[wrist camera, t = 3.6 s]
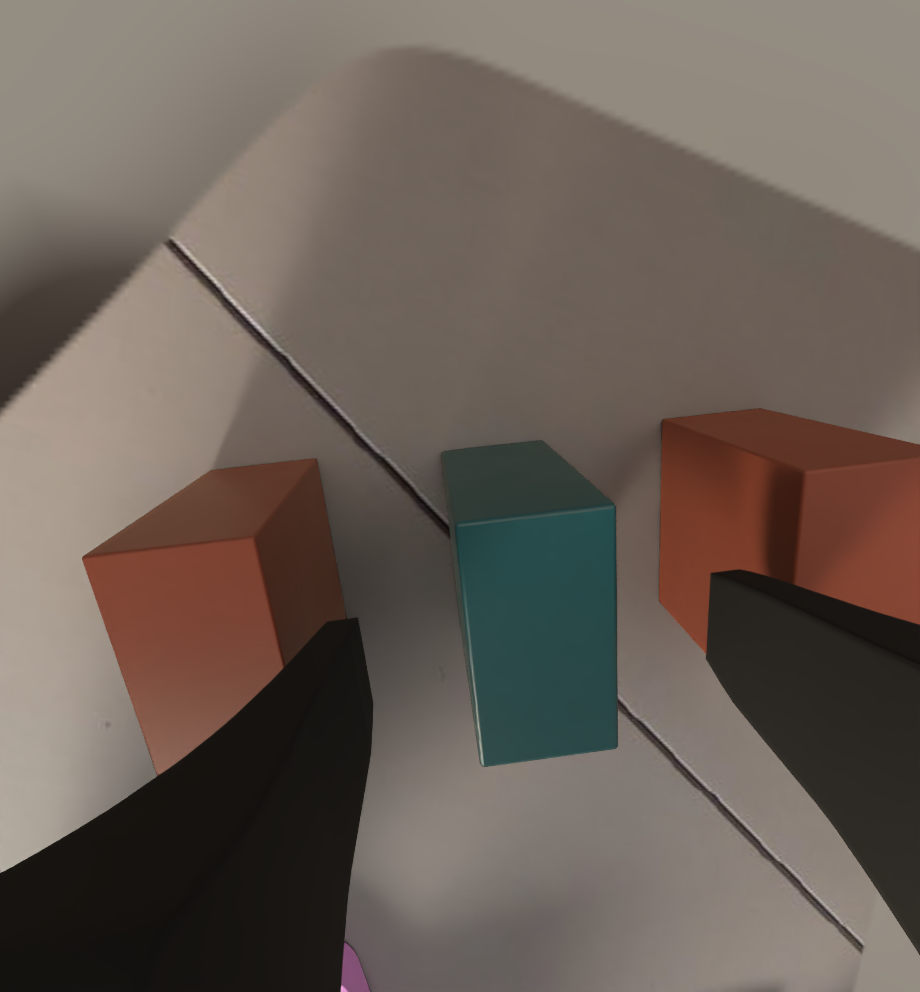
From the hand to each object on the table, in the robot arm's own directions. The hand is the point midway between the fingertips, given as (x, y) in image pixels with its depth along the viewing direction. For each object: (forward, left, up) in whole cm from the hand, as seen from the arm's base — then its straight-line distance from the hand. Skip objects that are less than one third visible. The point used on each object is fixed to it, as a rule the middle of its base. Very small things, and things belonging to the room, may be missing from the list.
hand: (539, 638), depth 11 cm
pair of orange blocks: (0, 0, -6) cm, 6 cm away
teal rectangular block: (0, 0, -6) cm, 6 cm away
